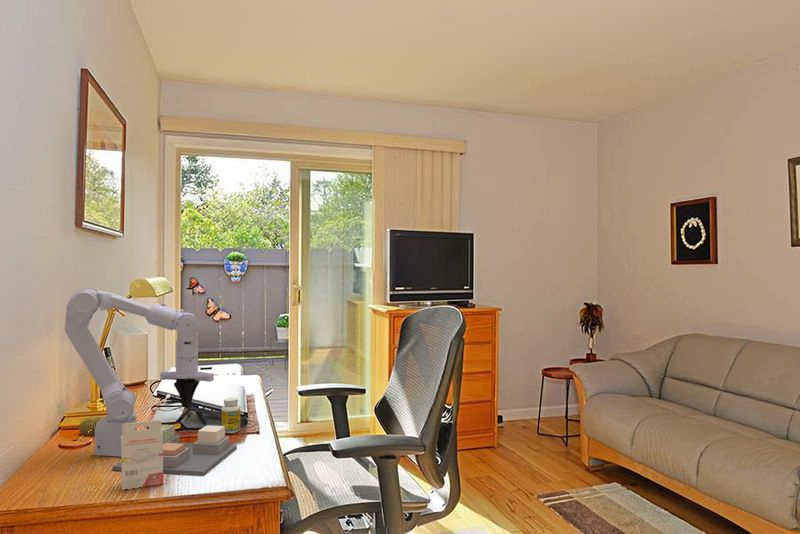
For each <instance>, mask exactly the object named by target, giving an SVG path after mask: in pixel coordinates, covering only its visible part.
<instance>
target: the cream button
mask: <svg viewBox="0 0 800 534" xmlns="http://www.w3.org/2000/svg"><path fill="white" fill-rule="evenodd" d="M225 436H226V433H225V426H222V425H211V424H210V425H205V426H203V427H202V428H200V429H199V430H197V440H198V443H208V444H218V443H219V442H220V441H222V440H223V439H224V438H225Z"/></svg>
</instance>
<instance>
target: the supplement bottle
mask: <svg viewBox="0 0 800 534" xmlns="http://www.w3.org/2000/svg"><path fill="white" fill-rule="evenodd" d="M238 403H239V399H238V397H226V398H224V400H223V406H222V408H221V426H225V434H226V433H231V434H236V432H237V433H239V432H240V431H241V406H240V405H239V404H238ZM238 431H239V432H238Z"/></svg>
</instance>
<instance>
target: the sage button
mask: <svg viewBox="0 0 800 534" xmlns="http://www.w3.org/2000/svg"><path fill="white" fill-rule="evenodd" d="M161 428H162V434H163V443H166V442H167V441H169V440H171V439H172V438H174V437H175V435H176V426H175V424H162V427H161Z"/></svg>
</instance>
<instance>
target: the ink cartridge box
mask: <svg viewBox="0 0 800 534" xmlns="http://www.w3.org/2000/svg"><path fill="white" fill-rule="evenodd" d="M162 423H163V422H162V420H161V419H157V420H147V421H146V420H145V421H136V422H135V423H125V424H123V425H122V437H121V460H120V462H121V471H120V472H121V490H122V491H125V489H128V490H133V489H132V488H135V489H140V488H139V487H142V488H147V487H146V486H148V487H154V486H153V485H155V486H160V485H161V484H162V485H164V474H163V434H162V428H161V427H162ZM142 426H143V427H145V428H146V427H148V428H147V429H139V430H137V428H141V427H142ZM135 428H136V430H135Z"/></svg>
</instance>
